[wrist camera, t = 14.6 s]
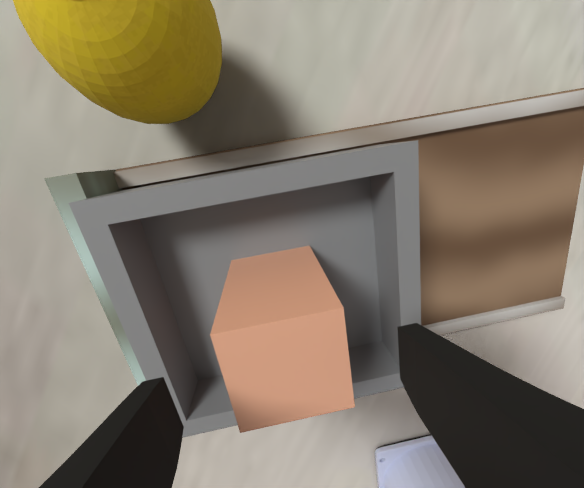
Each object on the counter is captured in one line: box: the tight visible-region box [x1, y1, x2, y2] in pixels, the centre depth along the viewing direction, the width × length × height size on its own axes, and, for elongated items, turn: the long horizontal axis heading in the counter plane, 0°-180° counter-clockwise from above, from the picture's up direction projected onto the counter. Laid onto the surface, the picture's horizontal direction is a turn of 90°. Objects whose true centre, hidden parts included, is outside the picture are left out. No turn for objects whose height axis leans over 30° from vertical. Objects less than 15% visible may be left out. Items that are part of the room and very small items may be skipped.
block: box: [210, 246, 355, 433], centre depth 11 cm, size 4×4×6 cm
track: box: [45, 88, 584, 386], centre depth 15 cm, size 14×27×4 cm, turn 100°
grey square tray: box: [69, 140, 421, 438], centre depth 14 cm, size 12×13×4 cm
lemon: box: [13, 0, 222, 124], centre depth 9 cm, size 6×6×8 cm
